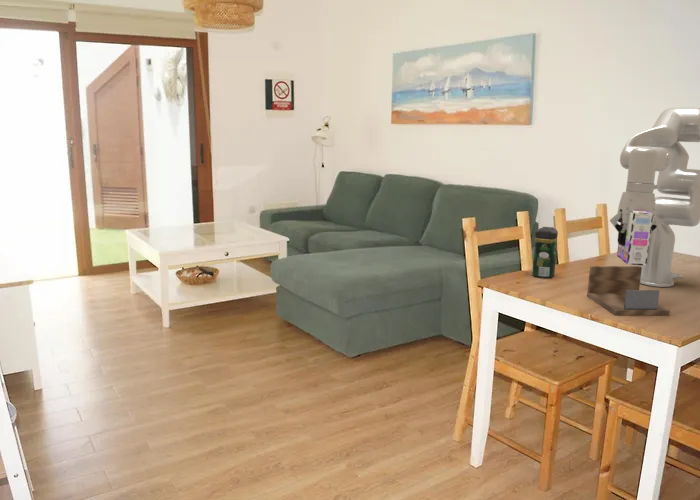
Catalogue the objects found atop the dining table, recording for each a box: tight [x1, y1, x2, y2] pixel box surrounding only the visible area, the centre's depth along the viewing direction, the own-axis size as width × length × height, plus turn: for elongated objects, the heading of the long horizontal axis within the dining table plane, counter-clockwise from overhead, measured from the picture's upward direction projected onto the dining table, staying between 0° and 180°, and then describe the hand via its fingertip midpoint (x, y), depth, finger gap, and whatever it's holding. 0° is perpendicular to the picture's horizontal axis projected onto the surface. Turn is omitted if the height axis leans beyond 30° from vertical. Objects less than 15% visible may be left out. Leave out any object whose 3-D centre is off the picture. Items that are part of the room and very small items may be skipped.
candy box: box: [616, 210, 653, 267], centre depth 186 cm, size 14×6×16 cm, turn 169°
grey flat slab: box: [624, 289, 660, 310], centre depth 181 cm, size 10×1×6 cm, turn 92°
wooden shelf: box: [586, 265, 671, 316], centre depth 189 cm, size 17×20×10 cm
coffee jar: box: [532, 226, 559, 279], centre depth 224 cm, size 10×8×19 cm
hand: (632, 244), depth 186 cm, fingers closed on candy box, 6 cm apart
